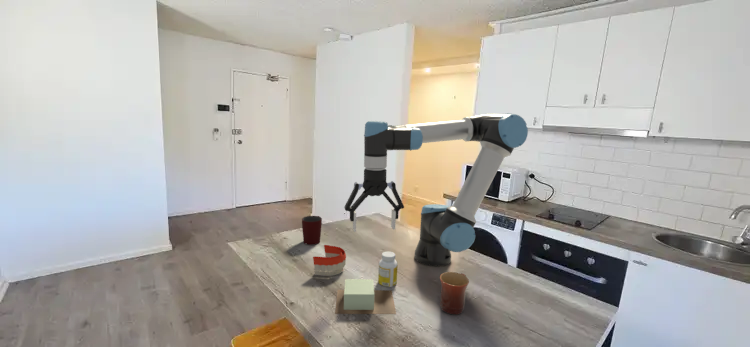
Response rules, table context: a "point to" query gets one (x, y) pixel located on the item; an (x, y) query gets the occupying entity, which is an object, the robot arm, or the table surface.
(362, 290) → the brick
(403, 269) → the table surface
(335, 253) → the denture model
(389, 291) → the plate
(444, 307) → the mug
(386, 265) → the pill bottle
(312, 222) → the mug
